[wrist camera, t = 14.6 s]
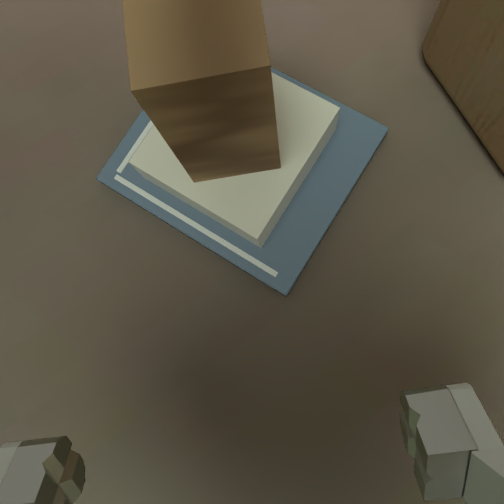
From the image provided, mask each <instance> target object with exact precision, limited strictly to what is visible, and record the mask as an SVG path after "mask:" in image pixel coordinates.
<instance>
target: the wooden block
mask: <svg viewBox="0 0 504 504" xmlns="http://www.w3.org/2000/svg"><path fill="white" fill-rule="evenodd" d="M422 48H423V54H424V58H425V62H426V63H427V65H428V66H429V67H430V69H431V70H432V72H433V73H434V75H435V76H436V77H437V79H438V80H439V82H440V83H441V85H442V86H443V87H444V89H445V90H446V92H447V93H448V95H449V96H450V97H451V99H452V100H453V102H454V103H455V105H456V106H457V107H458V109H459V110H460V112H461V113H462V115H463V116H464V117H465V119H466V120H467V122H468V123H469V125H470V126H471V127H472V129H473V130H474V132H475V133H476V135H477V136H478V137H479V139H480V140H481V142H482V143H483V145H484V146H485V147H486V149H487V150H488V152H489V153H490V155H491V156H492V157H493V159H494V160H495V162H496V163H497V165H498V166H499V167H500V169H501V170H502V172H503V173H504V0H441V3H440V5H439V7H438V10H437V12H436V14H435V17H434V19H433V21H432V23H431V26H430V28H429V30H428V33H427V35H426V37H425V40H424V42H423V44H422Z"/></svg>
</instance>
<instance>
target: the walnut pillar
mask: <svg viewBox="0 0 504 504" xmlns="http://www.w3.org/2000/svg"><path fill="white" fill-rule="evenodd" d="M122 4H123V15H124V26H125V36H126V47H127V58H128V68H129V79H130V90H131V92H132V94H133V95H134V97H135V98H136V99H137V101H138V102H139V104H140V105H141V107H142V108H143V110H144V111H145V112H146V114H147V115H148V117H149V118H150V120H151V121H152V123H153V124H154V125H155V127H156V128H157V130H158V131H159V133H160V134H161V136H162V137H163V139H164V140H165V141H166V143H167V144H168V146H169V147H170V149H171V150H172V152H173V153H174V154H175V156H176V157H177V159H178V160H179V162H180V163H181V165H182V166H183V167H184V169H185V170H186V172H187V173H188V175H189V176H190V178H191V179H192V180H193V182H194V183H195V182H201V181H207V180H213V179H219V178H225V177H231V176H237V175H243V174H249V173H255V172H261V171H267V170H273V169H280V168H281V163H280V153H279V143H278V133H277V123H276V113H275V103H274V93H273V83H272V73H271V64H270V58H269V52H268V45H267V39H266V33H265V26H264V20H263V14H262V8H261V1H260V0H122Z"/></svg>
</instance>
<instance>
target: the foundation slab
mask: <svg viewBox="0 0 504 504" xmlns="http://www.w3.org/2000/svg"><path fill="white" fill-rule="evenodd" d="M271 73H272V72H271ZM272 83H273V93H274V103H275V113H276V123H277V133H278V143H279V153H280V163H281V168H280V169H273V170H267V171H261V172H255V173H249V174H243V175H237V176H231V177H225V178H219V179H213V180H207V181H201V182H195V183H194V182H193V180H192V179H191V178H190V176H189V175H188V173H187V172H186V170H185V169H184V167H183V166H182V165H181V163H180V162H179V160H178V159H177V157H176V156H175V154H174V153H173V152H172V150H171V149H170V147H169V146H168V144H167V143H166V141H165V140H164V139H163V137H162V136H161V134H160V133H159V131H158V130H157V128H156V127H155V125H153V127H152V128H151V129H150V131H149V132H148V134H147V135H146V137H145V138H144V140H143V141H142V143H141V144H140V146H139V147H138V149H137V150H136V152H135V153H134V155H133V156H132V158H131V159H130V160H129V163H130V164H131V165H132V166H133V167H134V168H135V169H136V170H137V171H138V172H139V173H140V174H141V175H142V176H143V177H144V178H145V179H147V180H149V181H150V182H152V183H153V184H155V185H157V186H158V187H160V188H162V189H163V190H165V191H167V192H168V193H170V194H172V195H173V196H175V197H177V198H178V199H180V200H182V201H183V202H185V203H187V204H188V205H190V206H192V207H193V208H195V209H197V210H198V211H200V212H202V213H203V214H205V215H207V216H208V217H210V218H212V219H213V220H215V221H217V222H218V223H220V224H222V225H223V226H225V227H227V228H228V229H230V230H231V231H233V232H235V233H236V234H238V235H240V236H241V237H243V238H245V239H246V240H248V241H250V242H251V243H253V244H255V245H256V246H258V247H260V248H262V246H263V245H264V243H265V241H266V240H267V238H268V237H269V235H270V233H271V232H272V230H273V229H274V227H275V225H276V224H277V222H278V221H279V219H280V218H281V216H282V214H283V213H284V211H285V210H286V208H287V206H288V205H289V203H290V202H291V200H292V198H293V197H294V195H295V194H296V192H297V190H298V189H299V187H300V186H301V184H302V183H303V181H304V179H305V178H306V176H307V175H308V173H309V171H310V170H311V168H312V167H313V165H314V163H315V162H316V160H317V159H318V157H319V155H320V154H321V152H322V151H323V149H324V148H325V146H326V144H327V143H328V141H329V140H330V138H331V136H332V135H333V133H334V132H335V130H336V127H337V121H338V116H339V111H340V107H338V106H336V105H334V104H332V103H330V102H328V101H326V100H324V99H322V98H321V97H319V96H317V95H315V94H313V93H311V92H309V91H307V90H305V89H303V88H301V87H299V86H297V85H296V84H294V83H292V82H290V81H288V80H286V79H284V78H282V77H280V76H278V75H276V74H274V73H272Z"/></svg>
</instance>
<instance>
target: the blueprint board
mask: <svg viewBox="0 0 504 504" xmlns="http://www.w3.org/2000/svg"><path fill="white" fill-rule="evenodd" d="M271 72H272V73H274V74H276V75H278V76H280V77H282V78H284V79H286V80H288V81H290V82H292V83H294V84H296V85H297V86H299V87H301V88H303V89H305V90H307V91H309V92H311V93H313V94H315V95H317V96H319V97H321V98H322V99H324V100H326V101H328V102H330V103H332V104H334V105H336V106H338V107H340V111H339V116H338V121H337V127H336V130H335V132H334V133H333V135H332V136H331V138H330V140H329V141H328V143H327V144H326V146H325V148H324V149H323V151H322V152H321V154H320V155H319V157H318V159H317V160H316V162H315V163H314V165H313V167H312V168H311V170H310V171H309V173H308V175H307V176H306V178H305V179H304V181H303V183H302V184H301V186H300V187H299V189H298V190H297V192H296V194H295V195H294V197H293V198H292V200H291V202H290V203H289V205H288V206H287V208H286V210H285V211H284V213H283V214H282V216H281V218H280V219H279V221H278V222H277V224H276V225H275V227H274V229H273V230H272V232H271V233H270V235H269V237H268V238H267V240H266V241H265V243H264V245H263V246H262V248H260V247H258V246H256V245H255V244H253V243H251V242H250V241H248V240H246V239H245V238H243V237H241V236H240V235H238V234H236V233H235V232H233V231H231V230H230V229H228V228H227V227H225V226H223V225H222V224H220V223H218V222H217V221H215V220H213V219H212V218H210V217H208V216H207V215H205V214H203V213H202V212H200V211H198V210H197V209H195V208H193V207H192V206H190V205H188V204H187V203H185V202H183V201H182V200H180V199H178V198H177V197H175V196H173V195H172V194H170V193H168V192H167V191H165V190H163V189H162V188H160V187H158V186H157V185H155V184H153V183H152V182H150V181H149V180H147V179H145V178H144V177H143V176H142V175H141V174H140V173H139V172H138V171H137V170H136V169H135V168H134V167H133V166H132V165H131V164H130V163H129V160H130V159H131V158H132V156H133V155H134V153H135V152H136V150H137V149H138V147H139V146H140V144H141V143H142V141H143V140H144V138H145V137H146V135H147V134H148V132H149V131H150V129H151V128H152V127H153V125H154V124H153V123H152V121H151V120H150V118H149V117H148V115H147V114H146V112H145V111H144V110H142V112H141V113H140V115H139V116H138V118H137V119H136V120H135V122H134V123H133V125H132V126H131V128H130V129H129V131H128V132H127V134H126V135H125V137H124V138H123V139H122V141H121V142H120V144H119V145H118V147H117V148H116V150H115V151H114V153H113V154H112V156H111V157H110V159H109V160H108V161H107V163H106V164H105V166H104V167H103V169H102V170H101V172H100V173H99V175H98V176H97V178H96V179H97V180H98V181H100V182H101V183H103V184H104V185H106V186H107V187H109V188H111V189H112V190H114V191H116V192H117V193H119V194H120V195H122V196H124V197H125V198H127V199H128V200H130V201H132V202H133V203H135V204H137V205H138V206H140V207H141V208H143V209H145V210H146V211H148V212H150V213H151V214H153V215H154V216H156V217H158V218H159V219H161V220H162V221H164V222H166V223H167V224H169V225H171V226H172V227H174V228H175V229H177V230H179V231H180V232H182V233H184V234H185V235H187V236H188V237H190V238H192V239H193V240H195V241H196V242H198V243H200V244H201V245H203V246H205V247H206V248H208V249H209V250H211V251H213V252H214V253H216V254H218V255H219V256H221V257H222V258H224V259H226V260H227V261H229V262H230V263H232V264H234V265H235V266H237V267H239V268H240V269H242V270H243V271H245V272H247V273H248V274H250V275H252V276H253V277H255V278H256V279H258V280H260V281H261V282H263V283H264V284H266V285H268V286H269V287H271V288H273V289H274V290H276V291H277V292H279V293H281V294H282V295H284V296H287V295H288V293H289V291H290V290H291V288H292V287H293V285H294V283H295V282H296V280H297V278H298V277H299V275H300V274H301V272H302V270H303V269H304V267H305V265H306V264H307V262H308V261H309V259H310V257H311V256H312V254H313V252H314V251H315V249H316V248H317V246H318V244H319V243H320V241H321V239H322V238H323V236H324V235H325V233H326V231H327V230H328V228H329V226H330V225H331V223H332V222H333V220H334V218H335V217H336V215H337V213H338V212H339V210H340V208H341V207H342V205H343V204H344V202H345V200H346V199H347V197H348V195H349V194H350V192H351V191H352V189H353V187H354V186H355V184H356V182H357V181H358V179H359V178H360V176H361V174H362V173H363V171H364V169H365V168H366V166H367V165H368V163H369V161H370V160H371V158H372V156H373V155H374V153H375V152H376V150H377V148H378V147H379V145H380V143H381V142H382V140H383V139H384V137H385V135H386V134H387V131H388V129H389V128H388V127H386V126H384V125H382V124H380V123H378V122H376V121H374V120H373V119H371V118H369V117H367V116H365V115H363V114H361V113H359V112H357V111H355V110H353V109H351V108H349V107H347V106H345V105H344V104H342V103H340V102H338V101H336V100H334V99H332V98H330V97H328V96H326V95H324V94H322V93H320V92H318V91H316V90H315V89H313V88H311V87H309V86H307V85H305V84H303V83H301V82H299V81H297V80H295V79H293V78H291V77H289V76H287V75H286V74H284V73H282V72H280V71H278V70H276V69H274V68H272V67H271Z"/></svg>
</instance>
